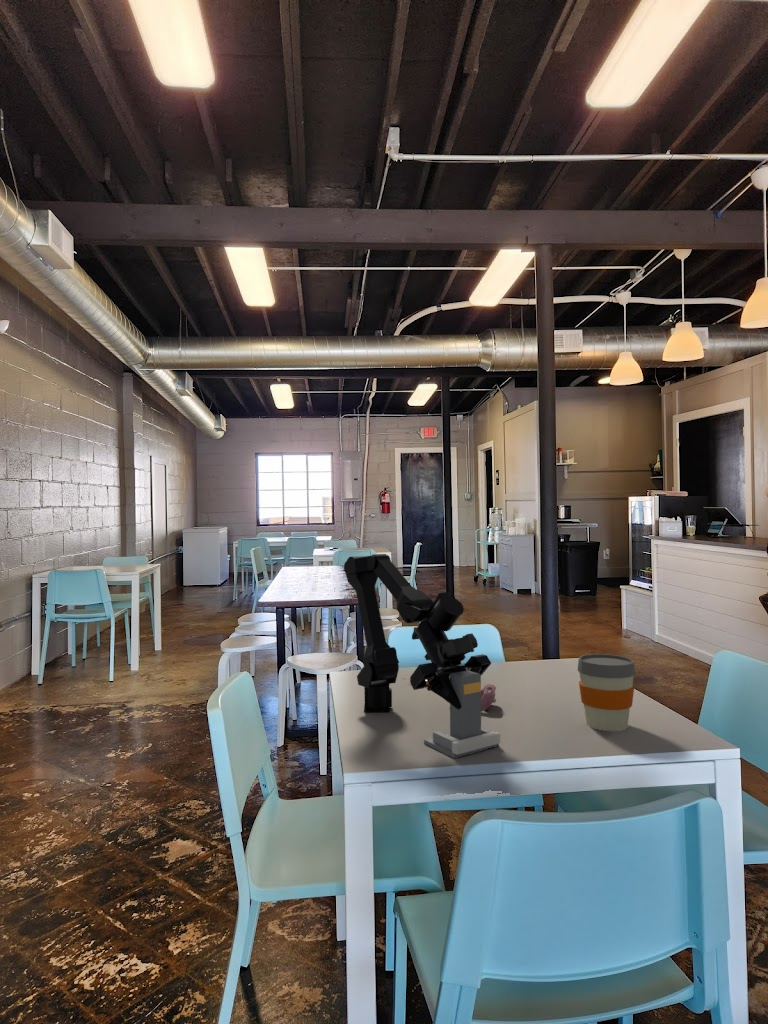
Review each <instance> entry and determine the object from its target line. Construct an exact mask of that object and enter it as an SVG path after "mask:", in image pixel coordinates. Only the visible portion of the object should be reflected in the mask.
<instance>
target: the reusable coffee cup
mask: <svg viewBox="0 0 768 1024" xmlns="http://www.w3.org/2000/svg"><path fill="white" fill-rule="evenodd" d="M634 661H635V660H633V659H632V658H629V657H626V656H622V655H617V654H616V655H615V654H606V653H605V654H604V653H593V654H583V655H580V656H578V663H577V672H579V681H578V685H579V693H580V700H581V703H582V704H583V707H584V709H583V710H584V715H585V722H586V725H587V727H589V728H591V729H594V730H597V729H598V730H599V731H602V730H603V731H604V732H621V731H620V730H623V731H625V730H627V729H628V726H629V718H630V712H631V711H630V709H631V708H632V707H633V700H634V693H635V685H634V676H635V675H636V669H635V662H634ZM626 728H627V729H626ZM624 729H625V730H624Z"/></svg>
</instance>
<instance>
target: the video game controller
mask: <svg viewBox="0 0 768 1024" xmlns="http://www.w3.org/2000/svg"><path fill="white" fill-rule="evenodd" d="M496 689H497V687H496V686H495V684H492V683H487V684H486V685H484V686H483V688H481V712H483V711H484V710H485V711H487V710H488V709H489V708H490V706H491V705H492V703H493V704H495V703H496V702H497V698H496Z"/></svg>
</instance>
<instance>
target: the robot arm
mask: <svg viewBox="0 0 768 1024" xmlns="http://www.w3.org/2000/svg"><path fill="white" fill-rule="evenodd" d="M343 571H344V573H345V576H346V581H347V582H348V584H349V585H350V586H351V587H352V589H353V590H354V591H355V593H356V598H357V602H358V603H357V604H358V607H359V612H360V619H361V623H362V628H363V632H364V638H365V642H366V643H365V644H366V649H365V652H364V654H363V658H362V662H363V667H362V668H361V669H360V671H359V672H358V674H357V676H356V680H357V684H358V686H362V687H363V688H364V691H363V692H364V706H363V712H364V713H378V712H379V713H381V712H382V713H383V712H384V713H385V712H386V713H387V712H388V713H389V712H391V708H392V707H393V698H392V697H393V696H392V695H393V694H392V693H393V690H392V688H390V684H396V682H397V678H398V674H399V668H400V665H399V663H400V661H399V659H398V655H397V654H398V653H397V649H396V647H395V646H391V645H389V644H388V642H387V640H386V635H385V631H384V626H383V621H382V620H383V619H382V616H381V610H380V607H379V602H378V601H379V600H378V596H377V592H376V584H377V581H378V579H379V580H380V581H381V582H382V584H383V585H384V586H385V588H386V589H387V590H388V591H389V593H390V594H391V595H392V597H393V598H394V599H395V601H396V611H397V612H398V614H399V616H400V617H401V619H402V620H403V622H404V623H406V624H413V623H415V624H416V623H419V624H418V625H417V626H416V627H413V632H412V634H411V640H419V641H420V643H421V645H422V647H423V648H424V650H425V653H426V654H425V655H424V656H423V657H424V658H425V660H426V661H430V662H426V663H422V664H418V666H417V667H416V669H414V671H413V673H412V674H411V675H410V676H409V677H410V678H409V684H410V683H411V685H410V686H411V687H412V689H413V691H416V690H422V689H425V688H426V690H427V691H431V692H432V693H434V694H436V695H437V696H439V697H441V698H442V699H443V700H444V701H446V702H447V703H449V705H450V704H451V705H453V706H454V707H455V708H457V709H460V708H461V704H460V701H459V699H458V697H457V695H456V693H455V691H454V689H453V687H452V685H451V683H450V673H456V672H462V671H467V670H468V671H472V672H475V673H478V674H481V676H483V674H484V673H485V672H486V671H487V670H488V668H489V667H490V666H491V665H492V662H491V660H490V659H489V657H488V655H486V654H476V655H471V656H470V657H469V659H468V660H467V661H466V662H465V663H462V661H464V660H466V655H467V654H470V653H474V652H475V649H477V648H478V647H479V643H478V639H477V638H476V637H475V635H474V633H466V634H465V635H462V637H457V638H451V639H449V638H448V636H447V635H446V632H449V631H450V630H451V629H452V628H453V626H454V625H455V624H456V623H457V622H458V621H459V619H460V618H461V616H462V614H463V613H464V609H465V608H464V605H463V604H462V602H461V601H459V600H458V599H456V598H455V597H453V596H451V595H449V594H448V592H447V591H442V592H438V594H437V596H436V598H435V600H434V601H433V600H432V598H431V597H430V596H428V595H427V594H426V593H424V592H423V591H422V590H420V589H416V588H415V587H413V586H412V585H411V584H410V582H408V580H407V578H405V576H404V575H403V574H402V573H401V572H400V570H399V569H398V567H396V566H395V564H394V563H393V562H392V560H391V557H390V555H388V554H385V553H377V554H376V553H375V554H371V555H359V556H358V555H356V556H348V558H347V559H346V561H345V562H344V565H343ZM425 680H428V683H429V685H426V681H425ZM426 686H427V687H426Z"/></svg>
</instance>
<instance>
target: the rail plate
mask: <svg viewBox="0 0 768 1024" xmlns="http://www.w3.org/2000/svg"><path fill="white" fill-rule="evenodd" d="M423 744H424V745H426V746H428V747H430V748H433V749H435V750H437V751H439V752H441V753H443V754H445V755H447V756H449V757H451V758H453V759H456V758H459V757H463V755H464V756H467V754H468V755H471V754H474V752H475V753H478V752H477V751H479V752H482V751H485V749H486V750H489V749H488V748H490V749H492V747H493V748H497V747H499V746H500V744H501V733H500V732H497V731H491V730H489V729H486V728H484V727H482V726H481V735H479V736H475V737H471V738H467V739H463V740H458V739H456V738H454V737H452V736H450V732H449V733H447V734H444V733H443V732H441V731H439V730H436V731H432V737H429V738H426V739H424V740H423ZM496 746H497V747H496ZM481 750H482V751H481ZM470 753H471V754H470Z"/></svg>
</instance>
